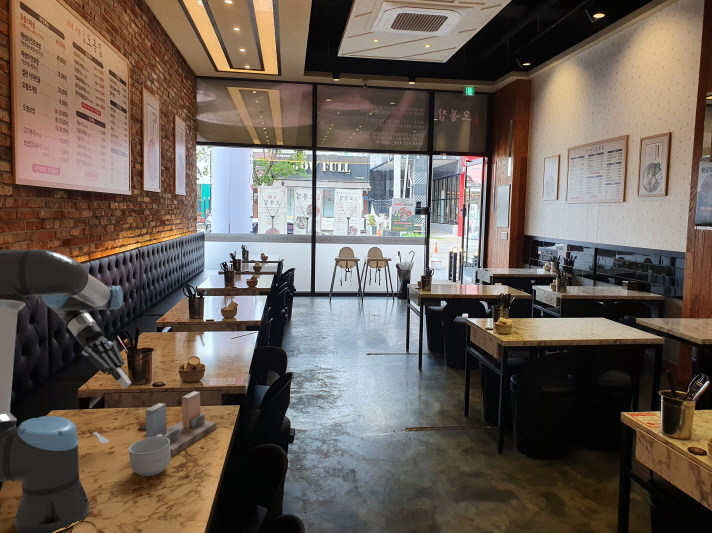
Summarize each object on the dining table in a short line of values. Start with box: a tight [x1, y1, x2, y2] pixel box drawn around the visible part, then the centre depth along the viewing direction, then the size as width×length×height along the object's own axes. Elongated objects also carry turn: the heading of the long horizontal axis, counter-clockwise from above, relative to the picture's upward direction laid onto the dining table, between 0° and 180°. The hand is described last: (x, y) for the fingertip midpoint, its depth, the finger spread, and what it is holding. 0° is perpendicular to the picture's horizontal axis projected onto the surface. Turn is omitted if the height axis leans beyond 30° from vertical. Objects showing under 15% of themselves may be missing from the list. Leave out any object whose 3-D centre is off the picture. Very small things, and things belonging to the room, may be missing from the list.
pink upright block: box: [181, 390, 201, 428], centre depth 175 cm, size 6×2×10 cm, turn 160°
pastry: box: [138, 416, 168, 430], centre depth 180 cm, size 9×7×4 cm
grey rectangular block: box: [145, 402, 168, 438], centre depth 164 cm, size 6×2×10 cm, turn 160°
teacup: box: [127, 434, 172, 477], centre depth 149 cm, size 14×11×8 cm
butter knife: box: [92, 431, 110, 445], centre depth 175 cm, size 1×24×3 cm
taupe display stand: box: [163, 413, 217, 457], centre depth 169 cm, size 22×12×5 cm, turn 160°
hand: (127, 385), depth 171 cm, fingers closed
